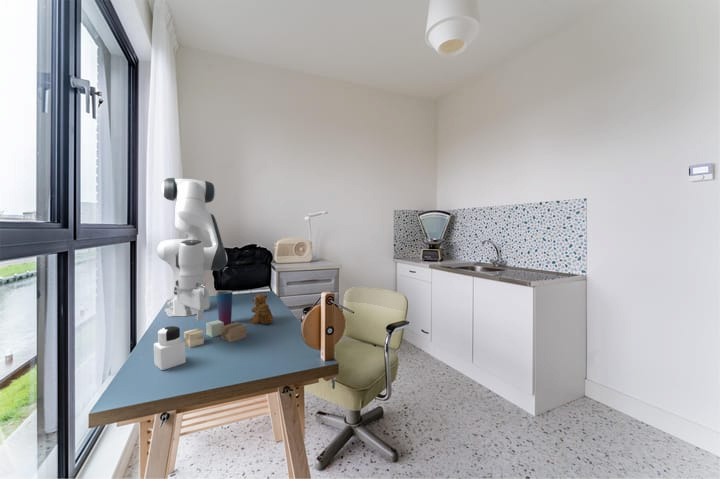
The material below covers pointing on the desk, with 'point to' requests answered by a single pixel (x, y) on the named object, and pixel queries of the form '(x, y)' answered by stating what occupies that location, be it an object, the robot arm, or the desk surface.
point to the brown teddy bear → (261, 311)
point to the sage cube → (214, 328)
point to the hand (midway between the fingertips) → (193, 318)
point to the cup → (224, 306)
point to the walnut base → (233, 332)
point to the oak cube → (193, 337)
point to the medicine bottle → (169, 348)
